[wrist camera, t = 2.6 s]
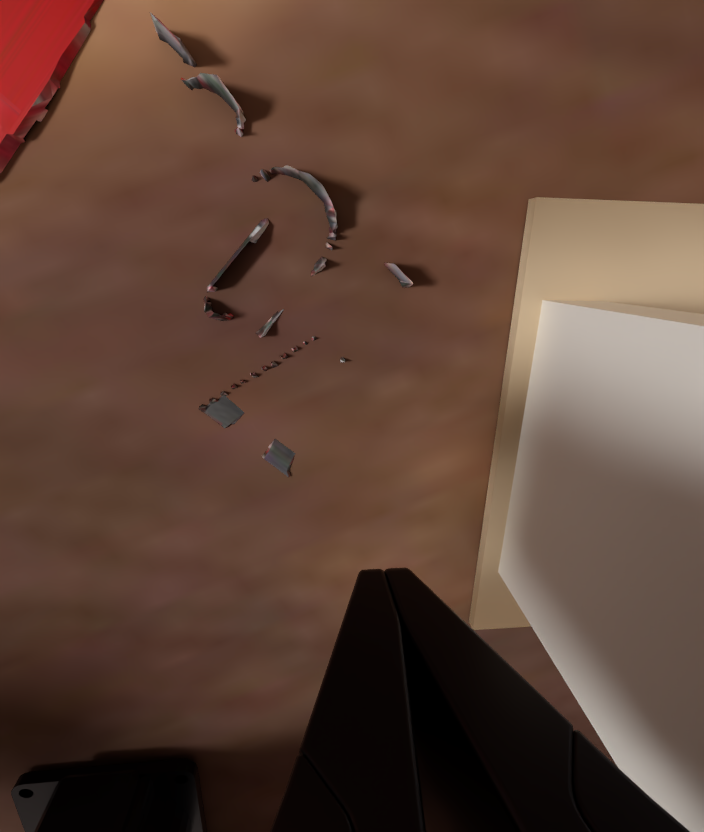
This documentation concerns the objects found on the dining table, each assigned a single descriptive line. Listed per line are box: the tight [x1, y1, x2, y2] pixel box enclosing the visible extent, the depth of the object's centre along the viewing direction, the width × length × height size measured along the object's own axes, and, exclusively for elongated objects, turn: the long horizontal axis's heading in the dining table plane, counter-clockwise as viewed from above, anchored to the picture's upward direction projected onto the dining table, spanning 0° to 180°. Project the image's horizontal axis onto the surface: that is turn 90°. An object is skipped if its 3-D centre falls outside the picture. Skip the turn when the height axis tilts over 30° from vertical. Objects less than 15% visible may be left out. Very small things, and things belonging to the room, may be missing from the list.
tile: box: [498, 300, 704, 832], centre depth 9 cm, size 9×2×9 cm, turn 179°
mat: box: [469, 197, 704, 630], centre depth 14 cm, size 14×14×1 cm
